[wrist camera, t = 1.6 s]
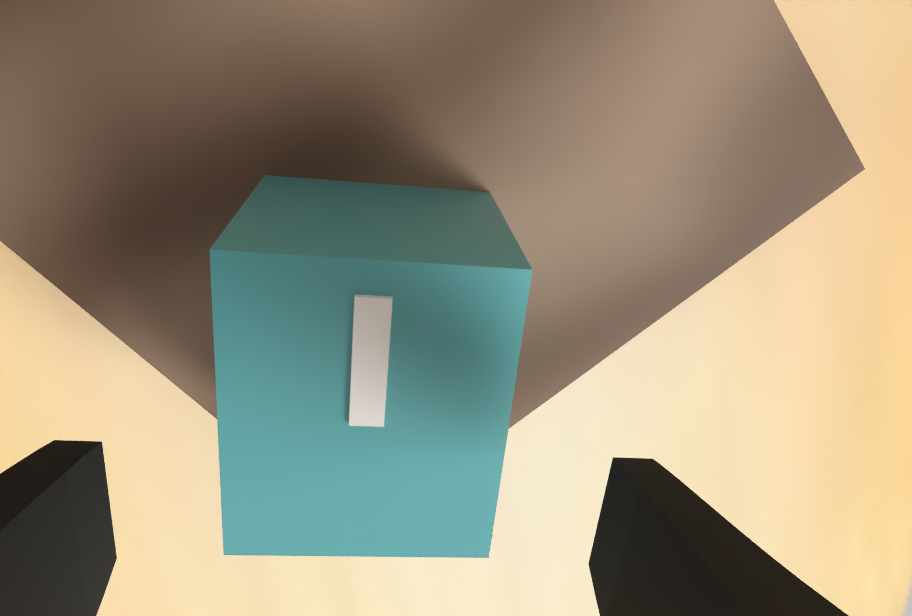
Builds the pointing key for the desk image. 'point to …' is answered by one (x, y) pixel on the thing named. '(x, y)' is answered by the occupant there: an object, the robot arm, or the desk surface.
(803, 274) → the desk surface
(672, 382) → the desk surface
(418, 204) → the teal mini fridge
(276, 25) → the plate
